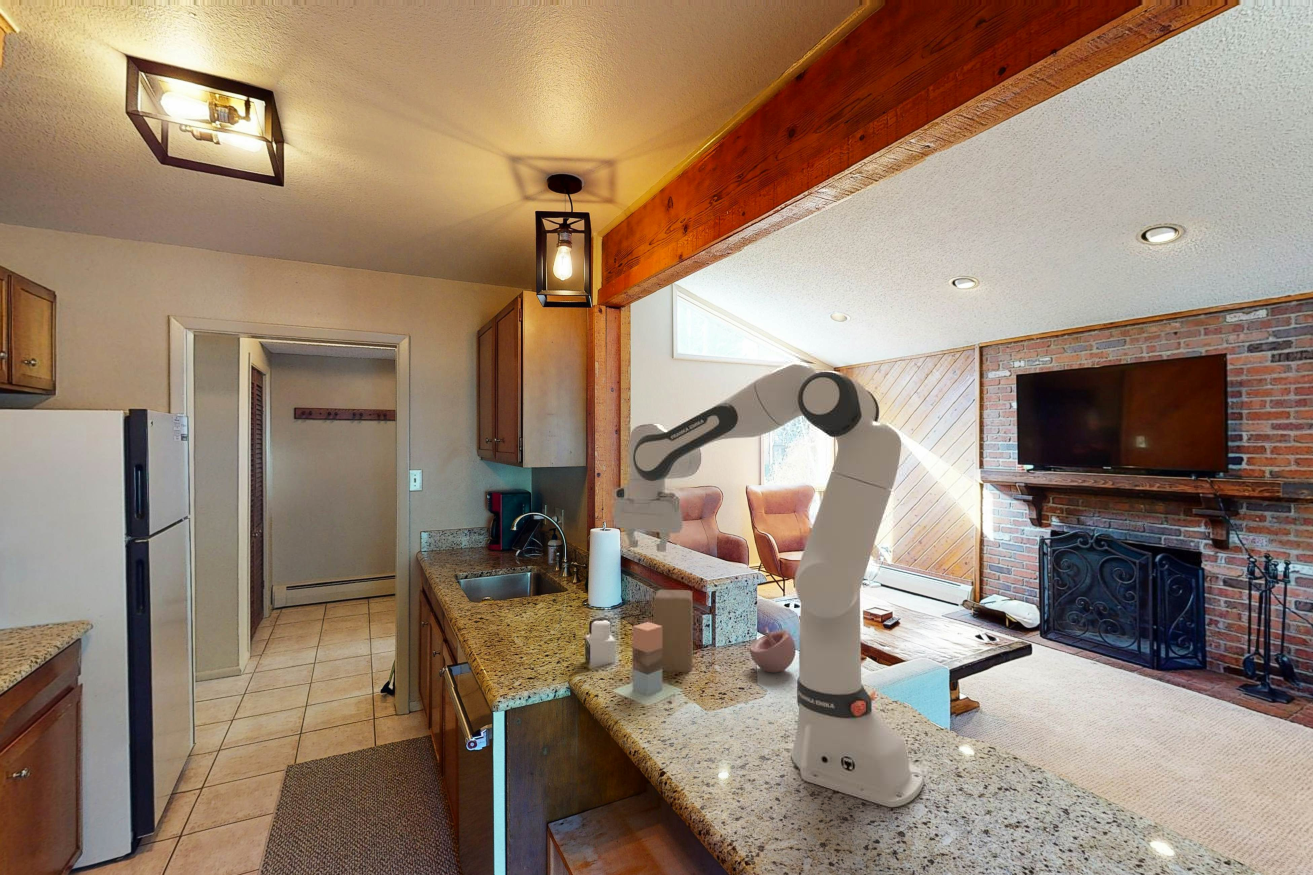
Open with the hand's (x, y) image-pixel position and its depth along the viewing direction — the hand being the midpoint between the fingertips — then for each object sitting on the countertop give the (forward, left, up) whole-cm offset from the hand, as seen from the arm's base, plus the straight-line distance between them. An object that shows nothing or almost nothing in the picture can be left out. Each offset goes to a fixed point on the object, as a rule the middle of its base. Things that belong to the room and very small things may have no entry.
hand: (647, 549), depth 133 cm
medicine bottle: (+24, -6, -35) cm, 43 cm away
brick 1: (0, 0, -23) cm, 23 cm away
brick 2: (0, 0, -28) cm, 28 cm away
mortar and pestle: (-13, -34, -35) cm, 50 cm away
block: (+7, -17, -35) cm, 39 cm away
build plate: (0, 0, -34) cm, 34 cm away
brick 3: (0, 0, -33) cm, 33 cm away
